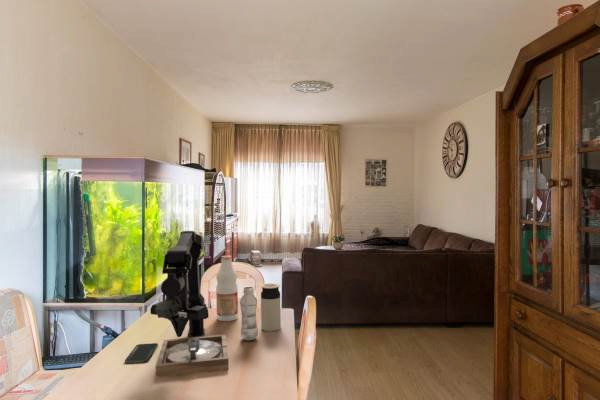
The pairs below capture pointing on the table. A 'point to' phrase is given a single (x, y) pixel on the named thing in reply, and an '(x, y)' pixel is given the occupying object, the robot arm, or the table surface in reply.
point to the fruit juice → (227, 291)
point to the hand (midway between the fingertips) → (179, 336)
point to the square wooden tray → (194, 365)
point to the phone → (141, 353)
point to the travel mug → (270, 307)
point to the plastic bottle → (248, 314)
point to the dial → (193, 350)
